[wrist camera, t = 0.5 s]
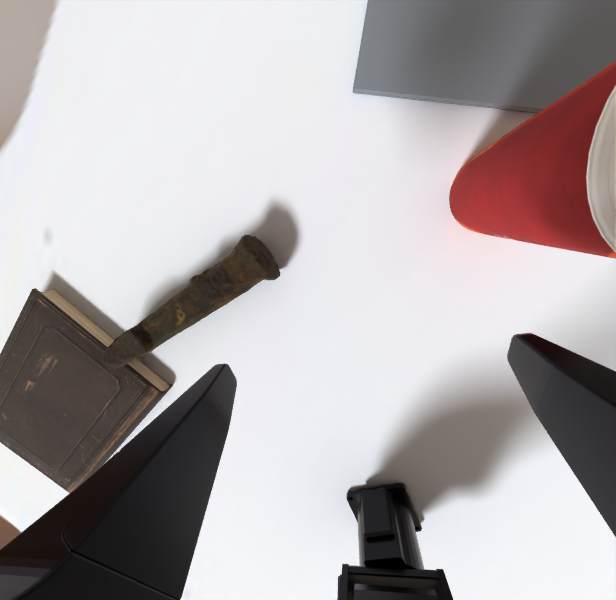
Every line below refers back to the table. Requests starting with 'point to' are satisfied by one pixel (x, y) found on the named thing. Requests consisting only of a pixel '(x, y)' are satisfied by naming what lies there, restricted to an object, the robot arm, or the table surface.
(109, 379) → the hardcover book
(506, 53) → the mat
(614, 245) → the paper cup
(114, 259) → the table surface
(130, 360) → the brown wooden branch
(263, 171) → the table surface
